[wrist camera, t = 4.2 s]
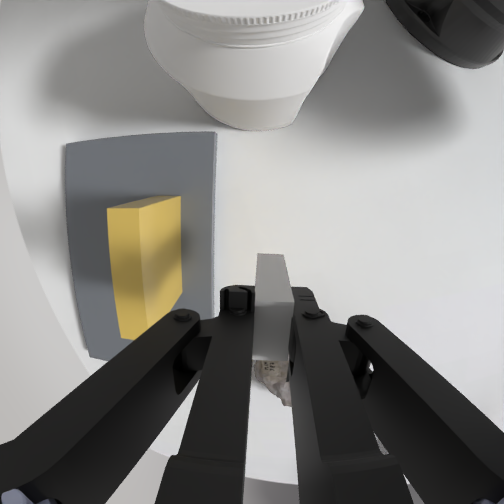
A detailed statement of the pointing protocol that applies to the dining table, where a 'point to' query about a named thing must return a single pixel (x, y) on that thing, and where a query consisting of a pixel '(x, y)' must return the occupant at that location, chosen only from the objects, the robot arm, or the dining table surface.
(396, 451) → the robot arm
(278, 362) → the stone
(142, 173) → the slate board
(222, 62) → the jar
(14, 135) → the dining table surface
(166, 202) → the yellow block
